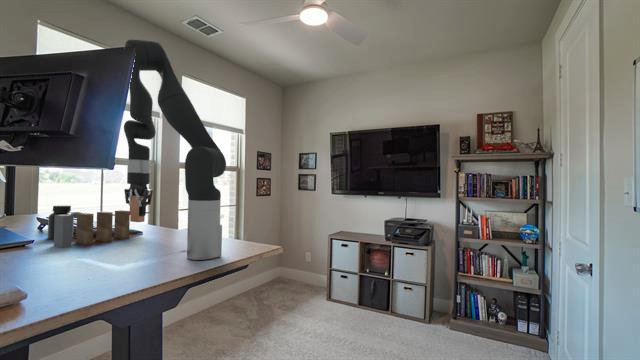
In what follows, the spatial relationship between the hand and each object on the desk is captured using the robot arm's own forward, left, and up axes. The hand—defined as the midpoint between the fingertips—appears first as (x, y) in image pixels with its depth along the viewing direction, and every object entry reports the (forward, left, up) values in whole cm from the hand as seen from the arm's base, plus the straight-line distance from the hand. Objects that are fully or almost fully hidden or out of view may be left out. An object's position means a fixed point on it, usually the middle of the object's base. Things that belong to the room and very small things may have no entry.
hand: (137, 215), depth 114 cm
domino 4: (0, 0, -2) cm, 2 cm away
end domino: (+21, +12, -8) cm, 25 cm away
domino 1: (+15, +9, -8) cm, 19 cm away
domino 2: (+10, +6, -8) cm, 14 cm away
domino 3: (+5, +3, -8) cm, 10 cm away
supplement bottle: (+23, -3, -8) cm, 24 cm away
